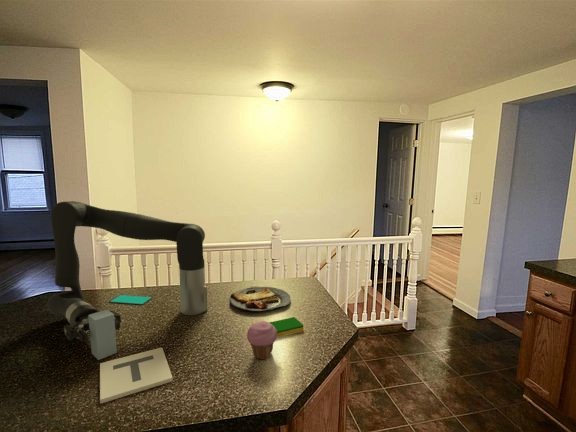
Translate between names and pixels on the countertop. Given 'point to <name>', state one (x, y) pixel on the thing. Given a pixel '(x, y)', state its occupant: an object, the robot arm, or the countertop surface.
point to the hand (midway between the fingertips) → (102, 332)
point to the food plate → (259, 298)
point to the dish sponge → (287, 326)
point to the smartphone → (131, 300)
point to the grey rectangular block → (102, 334)
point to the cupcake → (262, 338)
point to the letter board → (133, 374)
